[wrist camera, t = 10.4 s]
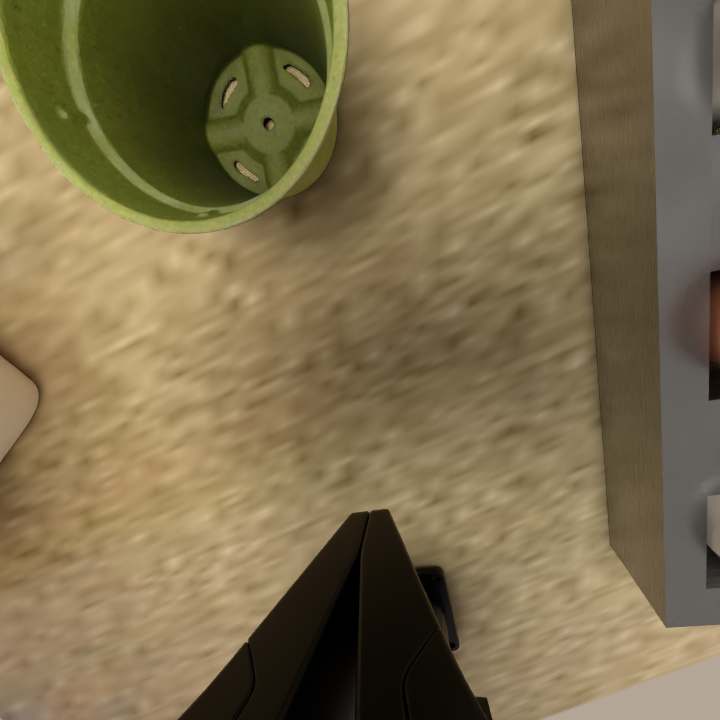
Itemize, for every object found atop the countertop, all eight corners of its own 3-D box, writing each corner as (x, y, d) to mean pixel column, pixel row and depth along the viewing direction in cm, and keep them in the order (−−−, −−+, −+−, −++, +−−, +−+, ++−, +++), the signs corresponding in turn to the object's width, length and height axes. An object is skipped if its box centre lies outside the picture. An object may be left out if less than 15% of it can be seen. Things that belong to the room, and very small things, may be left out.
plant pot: (418, 90, 17) (430, -58, 8) (306, 273, 19) (233, 297, 11) (234, -50, 16) (49, -363, 8) (147, 162, 19) (-55, 102, 10)
